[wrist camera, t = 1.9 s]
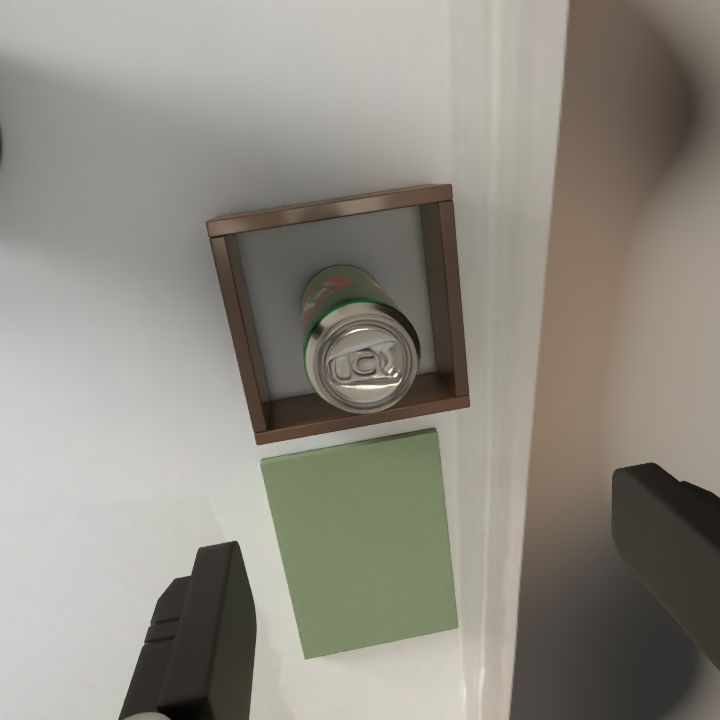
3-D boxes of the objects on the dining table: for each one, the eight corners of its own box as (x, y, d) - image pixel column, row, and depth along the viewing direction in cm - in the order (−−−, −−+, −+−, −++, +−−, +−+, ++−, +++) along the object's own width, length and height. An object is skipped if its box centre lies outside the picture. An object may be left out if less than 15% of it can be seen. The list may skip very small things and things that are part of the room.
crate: (261, 414, 35) (256, 446, 31) (217, 216, 31) (205, 221, 27) (449, 381, 36) (470, 407, 32) (431, 183, 32) (451, 183, 28)
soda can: (386, 337, 34) (431, 412, 23) (307, 349, 34) (314, 431, 23) (377, 258, 33) (421, 296, 22) (294, 269, 33) (294, 315, 21)
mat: (304, 653, 42) (304, 660, 41) (260, 459, 36) (259, 464, 36) (456, 622, 42) (458, 628, 42) (435, 427, 37) (437, 431, 36)
